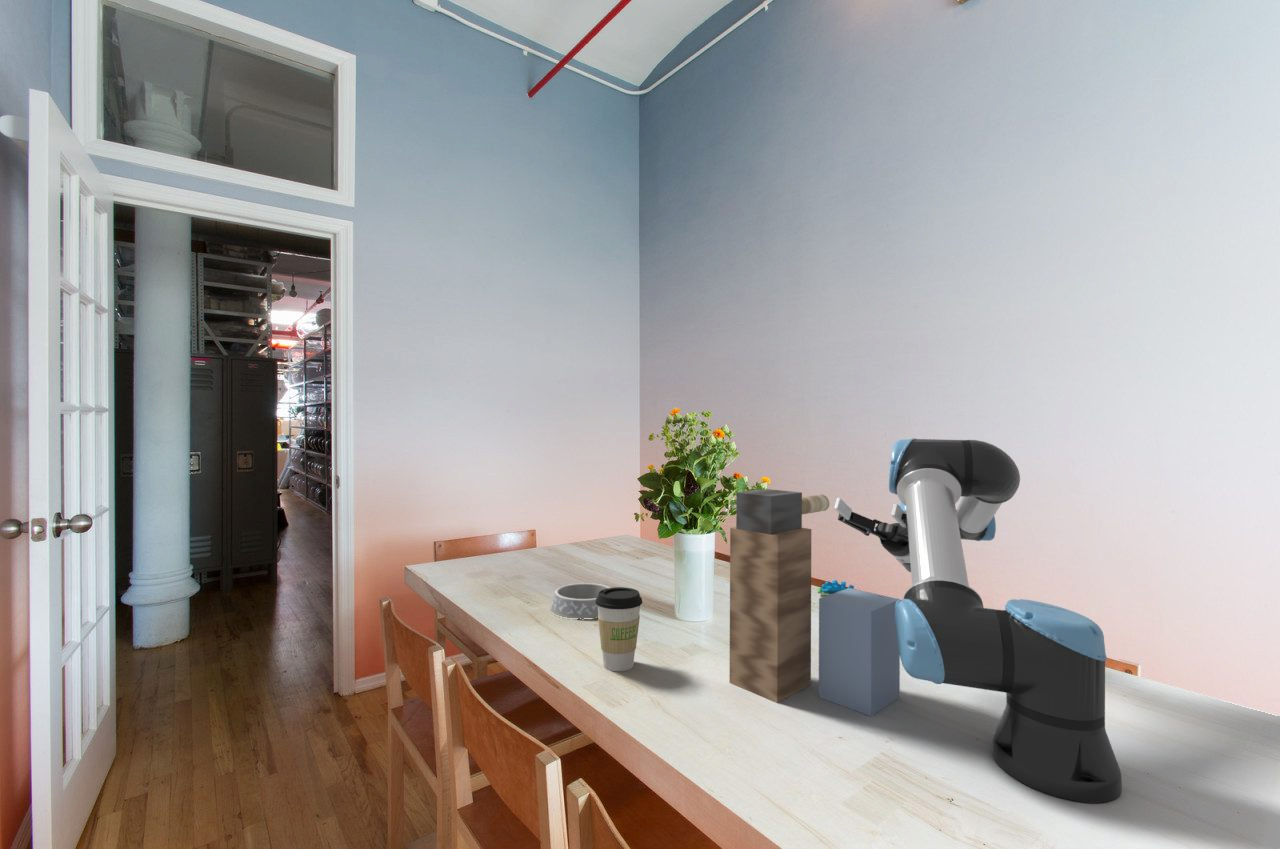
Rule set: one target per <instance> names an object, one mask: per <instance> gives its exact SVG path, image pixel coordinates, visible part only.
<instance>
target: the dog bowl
mask: <svg viewBox="0 0 1280 849" xmlns="http://www.w3.org/2000/svg"><path fill="white" fill-rule="evenodd" d="M607 588H611V587H610V586H607V585H605V584H600V583H594V582H592V583H590V582H580V583H570V584H566V585H562V586H560V587H558V588H556V589H555V591H554V594H553V599H552V603H551V606H550V612H551V611H552V612H553V613H554V614H556V615H559V616H562V617H567V618H578V619H580V618H581V619H584V618H596V617H597V618H598V615H599V614H598V605H596V603H595V601H596V598H597V597H598V594H599V591H601V590H603V589H607Z"/></svg>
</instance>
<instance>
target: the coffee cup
mask: <svg viewBox="0 0 1280 849" xmlns="http://www.w3.org/2000/svg"><path fill="white" fill-rule="evenodd" d="M595 603H596V605H598V617H597V622H598V629H599V631H598V632H599V639H600V640H599V641H600V649H601V652H602V662H603V664H602V665H603V667H604V669H606V670H608V671H611V672H612V671H613V672H625V671H628V670H630V669H632V668H633V667H634V662H635V655H636V649H637V644H638V634H639V627H640V626H639V625H640V610H641V605H643V598H642V596H641V594H640V592H639V590H637V589H634V588H632V587H621V586H618V587H617V586H616V587H615V586H614V587H610V588H607V589H603V590H601V591H599V594H598V597H597V598H596V601H595Z"/></svg>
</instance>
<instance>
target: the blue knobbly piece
mask: <svg viewBox="0 0 1280 849" xmlns="http://www.w3.org/2000/svg"><path fill="white" fill-rule="evenodd" d="M847 588H852V589H855V586H854V585H853V584H849V585H848V587H847V582H846V581H840V583H839V582H838V580H836V579H834V580H832V582H831V581H829V580H826V581H825V583H823V584H821V587H817V593H818V594H820V595H819V596H820V598H822V597H825V596H828V595H830V594H833V593H836V592H839V591H842V590H845V589H847Z"/></svg>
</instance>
